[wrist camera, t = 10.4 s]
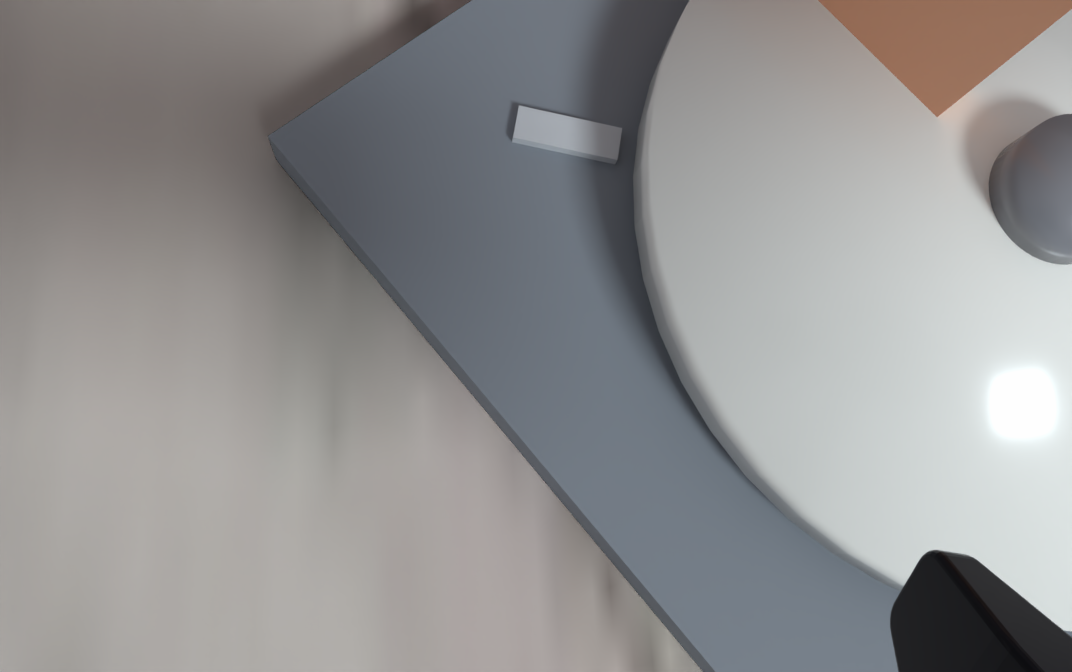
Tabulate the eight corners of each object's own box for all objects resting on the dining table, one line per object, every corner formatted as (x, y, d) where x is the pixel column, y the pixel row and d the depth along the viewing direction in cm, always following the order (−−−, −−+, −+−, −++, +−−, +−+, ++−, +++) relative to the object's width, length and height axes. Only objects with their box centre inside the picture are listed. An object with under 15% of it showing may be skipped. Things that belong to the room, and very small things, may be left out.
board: (996, 1023, 18) (1045, 1062, 17) (276, 159, 20) (265, 131, 19) (1535, 319, 24) (1604, 305, 23) (939, -290, 26) (969, -336, 25)
